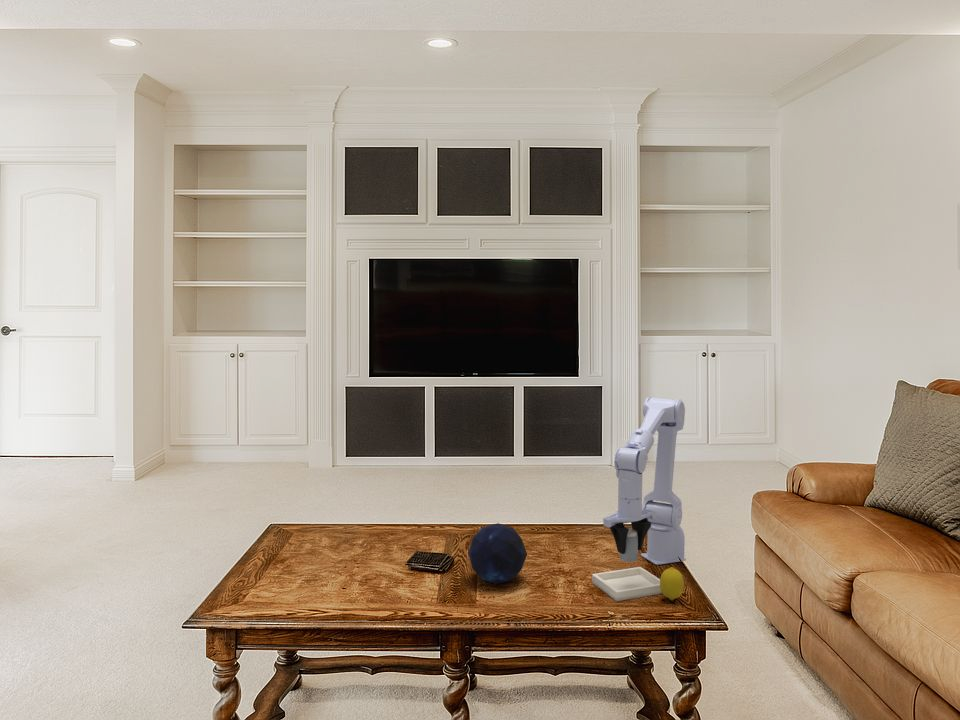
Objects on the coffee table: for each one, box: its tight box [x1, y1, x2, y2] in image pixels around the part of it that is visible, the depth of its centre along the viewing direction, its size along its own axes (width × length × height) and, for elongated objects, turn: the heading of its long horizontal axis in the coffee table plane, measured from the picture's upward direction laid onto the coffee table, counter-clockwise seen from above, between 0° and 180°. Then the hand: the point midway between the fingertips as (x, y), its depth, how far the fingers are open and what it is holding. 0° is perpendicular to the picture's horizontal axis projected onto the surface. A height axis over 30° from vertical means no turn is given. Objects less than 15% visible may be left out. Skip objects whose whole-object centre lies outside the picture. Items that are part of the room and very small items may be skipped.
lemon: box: [659, 566, 685, 601], centre depth 175 cm, size 6×6×8 cm
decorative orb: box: [467, 522, 528, 585], centre depth 188 cm, size 14×15×15 cm
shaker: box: [619, 528, 639, 563], centre depth 182 cm, size 4×4×7 cm
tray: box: [591, 566, 664, 602], centre depth 183 cm, size 14×12×2 cm
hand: (629, 550), depth 182 cm, fingers closed on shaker, 4 cm apart
